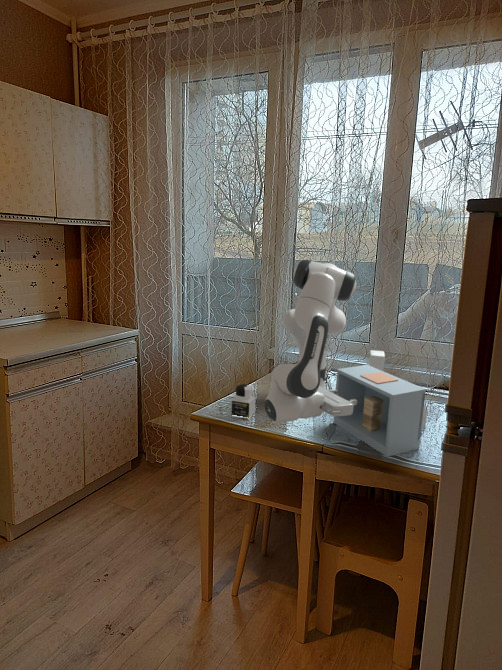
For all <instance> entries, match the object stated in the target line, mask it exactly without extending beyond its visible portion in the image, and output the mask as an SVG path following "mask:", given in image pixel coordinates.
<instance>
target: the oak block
mask: <svg viewBox="0 0 502 670" xmlns="http://www.w3.org/2000/svg"><path fill="white" fill-rule="evenodd" d="M382 410H383V400H382V399H380V398H378V397H376V396H371V397H365V400H364V411H363V423H362V427H364V428H365V429H367V430H369V431H370V432H372V431H376V430H381V421H382Z"/></svg>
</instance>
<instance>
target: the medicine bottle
mask: <svg viewBox="0 0 502 670" xmlns="http://www.w3.org/2000/svg"><path fill="white" fill-rule="evenodd" d="M252 391H253V387H252V386H251V385H249V384H245V383H243V384H239V385H236V387H235V396H234V397H233V398H232V399H231V416H232V415H237V416H243V417H248V418H249V417H250V416H251V415H252V414H253V413H254V412H255V413H256V396H255V395H252V394H253V393H252ZM255 413H254V414H255Z"/></svg>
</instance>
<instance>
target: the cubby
mask: <svg viewBox="0 0 502 670" xmlns="http://www.w3.org/2000/svg"><path fill="white" fill-rule="evenodd" d="M335 380H336V381H335V390H338V391H339V397H341V398H343V399H345V400H347V401H350V399H355V400H357V405H354V406H353V413H352V415H347V416H333V424H335V426H338V427H339V428H341V429H342V428H343V429H342V430H344V431H345V430H346V432H347V431H348V432H347V433H349V434H350V433H351V434H350V435H352V436H353V435H354V436H353V437H354V438H356V437H357V439H358V438H359V439H358V440H360V441H361V440H362V441H361V442H363V441H364V442H365V444H366V443H367V444H368V446H369V445H370V446H369V447H371V446H372V447H373V448H372V447H371V448H372V449H374V450H375V449H376V450H375V451H377V452H378V451H379V452H378V453H380V452H381V453H380V454H382V455H383V454H384V455H383V456H385V457H386V458H389V457H392V456H395V455H400V454H405V453H407V452H412V451H416V450H419V449H420V443H421V436H422V435H421V434H422V431H421V427H422V419H423V410H424V405H425V400H426V399H425V398H426V393H427V392H426V391H427V389H426V388H424V387H422V386H419V385H417V384H414V383H412V382H410V381H407V380H405V379H402V378H400V377H398V376H395V375H392V374H390V373H388V372H386V371H384V370H383V371H381V370H379V369H376V368H374V367H371V366H369V364H362V365H357V366H349V367H342V368H337V369H336V379H335ZM371 396H376V397H378V398H380V399H382V400H383V410H382V421H381V430H376V431H372V432H370V431H369V430H367V429H365V428H364V427H362V423H363V411H364V400H365V397H371ZM364 442H363V443H364ZM367 444H366V445H367ZM388 456H389V457H388Z"/></svg>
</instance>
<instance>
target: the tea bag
mask: <svg viewBox="0 0 502 670" xmlns="http://www.w3.org/2000/svg"><path fill="white" fill-rule="evenodd" d="M427 415H428V410H427V408H426V405H425V404H424V410H423V419H422V427H421V432H422V431H423V430H424V429H425V427H426V422H427Z"/></svg>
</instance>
